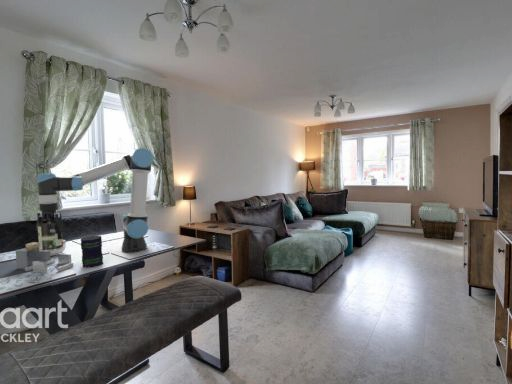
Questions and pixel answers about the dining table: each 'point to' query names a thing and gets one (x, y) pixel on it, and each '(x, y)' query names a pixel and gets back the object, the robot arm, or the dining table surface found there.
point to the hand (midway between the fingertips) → (51, 244)
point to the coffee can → (47, 237)
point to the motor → (39, 259)
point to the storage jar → (91, 251)
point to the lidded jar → (59, 249)
